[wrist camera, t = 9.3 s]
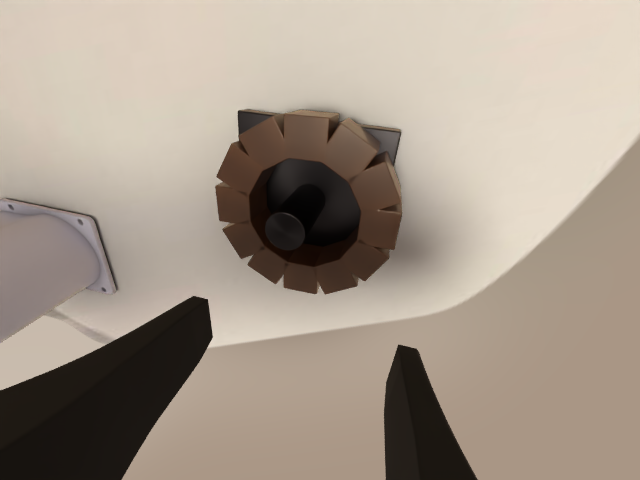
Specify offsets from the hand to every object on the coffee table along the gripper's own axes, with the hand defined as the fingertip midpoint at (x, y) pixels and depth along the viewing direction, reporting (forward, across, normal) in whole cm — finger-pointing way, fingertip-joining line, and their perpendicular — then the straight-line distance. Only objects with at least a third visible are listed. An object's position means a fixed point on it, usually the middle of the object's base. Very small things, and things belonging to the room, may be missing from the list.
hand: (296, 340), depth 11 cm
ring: (+9, +2, -2) cm, 9 cm away
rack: (+10, +2, -2) cm, 10 cm away
